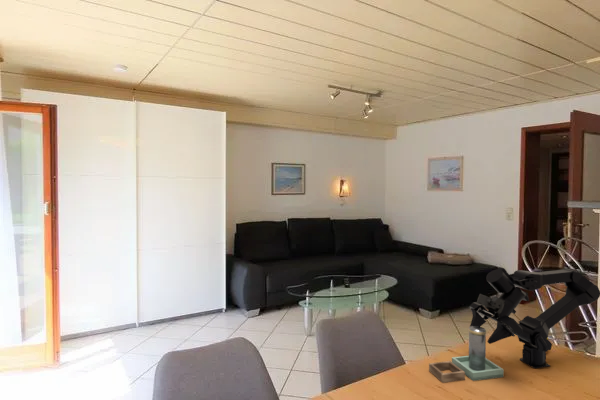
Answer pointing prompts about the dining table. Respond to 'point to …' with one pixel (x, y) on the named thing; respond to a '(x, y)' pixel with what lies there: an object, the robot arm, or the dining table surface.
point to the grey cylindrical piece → (477, 348)
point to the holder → (446, 377)
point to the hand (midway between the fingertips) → (478, 337)
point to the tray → (488, 373)
